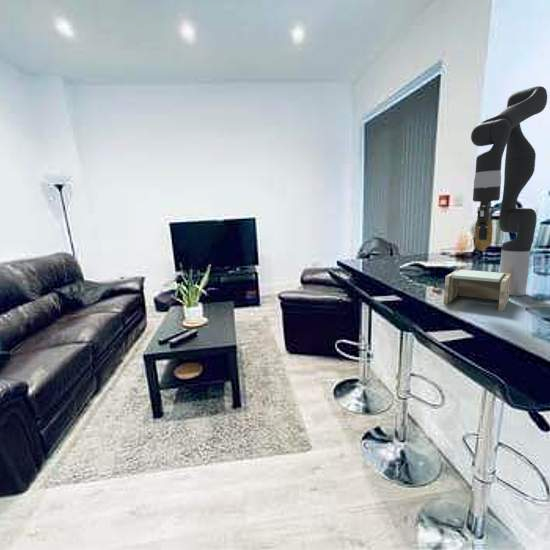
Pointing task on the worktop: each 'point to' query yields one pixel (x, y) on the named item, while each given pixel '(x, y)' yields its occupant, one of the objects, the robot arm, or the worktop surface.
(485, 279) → the trapdoor
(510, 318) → the worktop surface
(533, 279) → the worktop surface
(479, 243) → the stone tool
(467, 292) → the trapdoor frame
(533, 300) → the worktop surface
